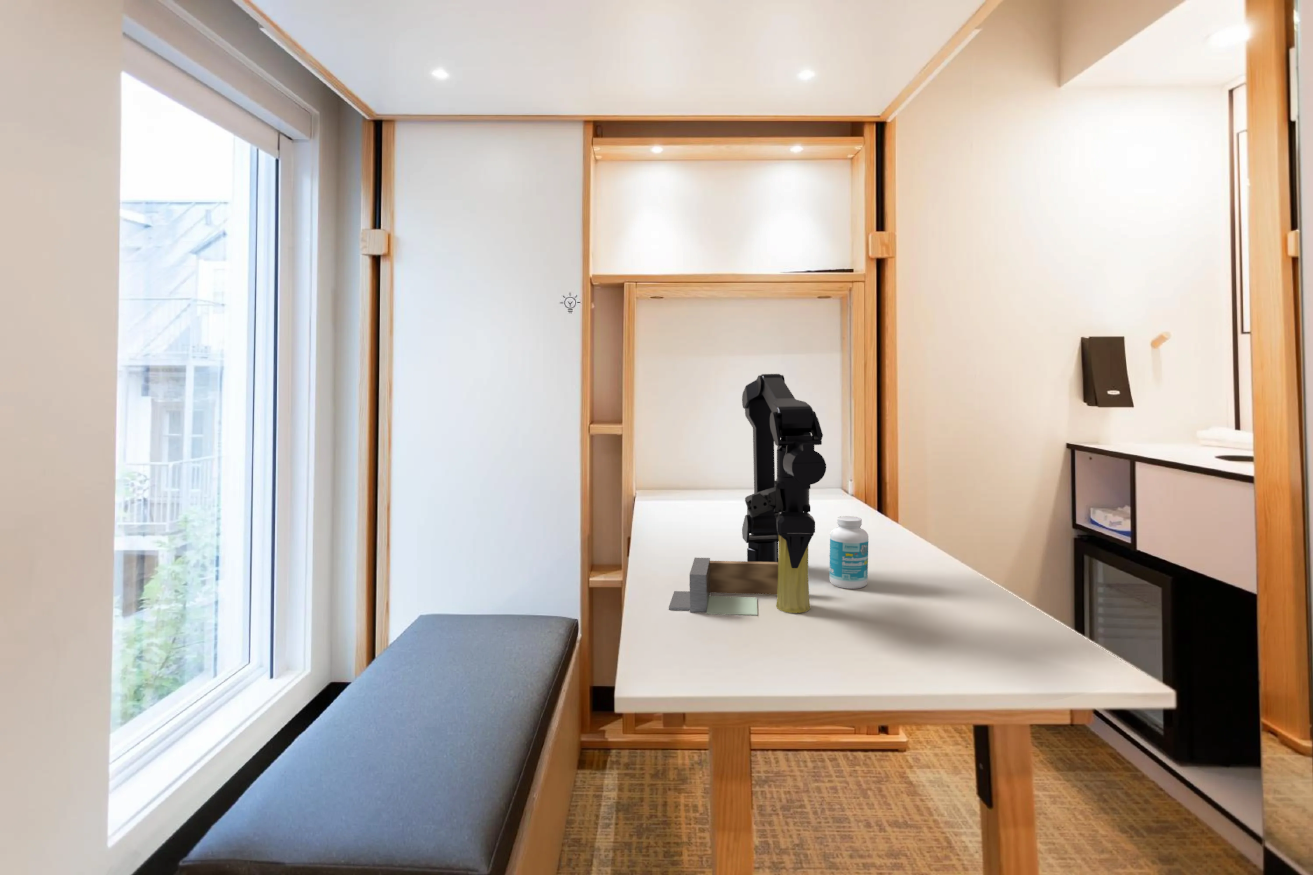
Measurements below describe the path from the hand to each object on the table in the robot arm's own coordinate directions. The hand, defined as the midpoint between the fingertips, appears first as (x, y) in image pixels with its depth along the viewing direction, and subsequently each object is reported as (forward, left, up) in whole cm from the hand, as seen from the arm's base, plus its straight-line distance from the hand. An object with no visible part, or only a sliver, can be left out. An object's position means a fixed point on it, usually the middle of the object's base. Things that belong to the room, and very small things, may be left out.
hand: (792, 560), depth 121 cm
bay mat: (+8, -8, -9) cm, 14 cm away
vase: (0, 0, -9) cm, 9 cm away
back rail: (0, -11, -9) cm, 14 cm away
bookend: (+12, -14, -9) cm, 21 cm away
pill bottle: (-19, -2, -9) cm, 21 cm away
